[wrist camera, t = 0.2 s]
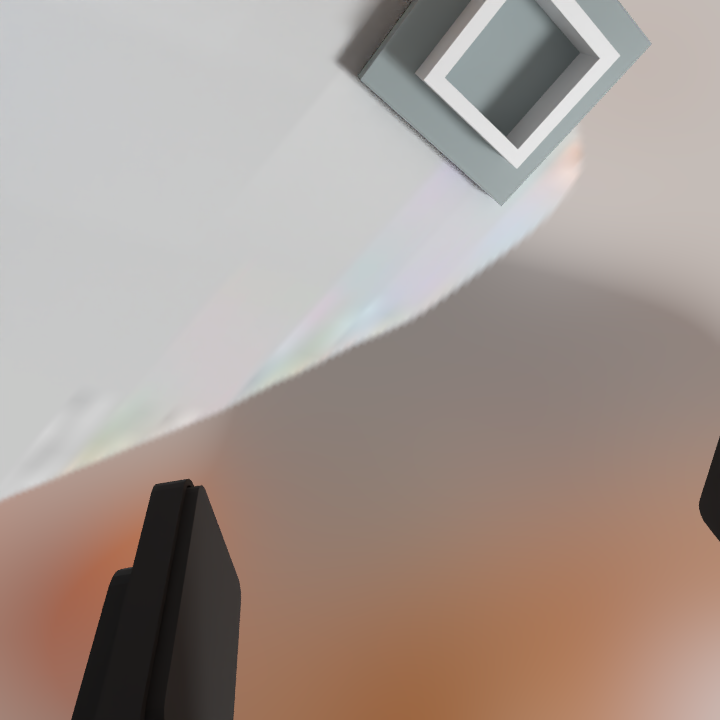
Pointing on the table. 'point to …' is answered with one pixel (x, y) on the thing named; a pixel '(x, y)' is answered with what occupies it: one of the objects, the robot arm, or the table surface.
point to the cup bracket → (502, 77)
